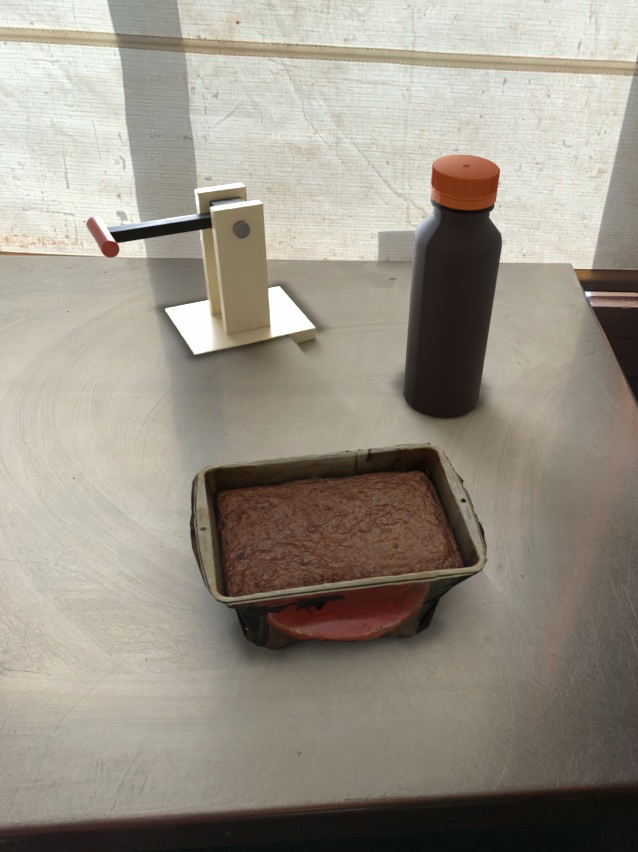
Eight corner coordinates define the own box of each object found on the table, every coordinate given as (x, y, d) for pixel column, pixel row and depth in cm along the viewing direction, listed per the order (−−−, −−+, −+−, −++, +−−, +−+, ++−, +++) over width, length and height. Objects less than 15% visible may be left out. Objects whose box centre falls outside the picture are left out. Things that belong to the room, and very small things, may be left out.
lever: (104, 265, 64) (98, 236, 62) (89, 239, 67) (82, 211, 65) (257, 239, 69) (255, 212, 67) (236, 217, 72) (234, 190, 70)
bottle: (457, 371, 74) (486, 146, 60) (491, 412, 70) (530, 179, 56) (391, 384, 72) (404, 153, 58) (421, 427, 68) (444, 189, 53)
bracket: (196, 366, 72) (176, 227, 63) (166, 319, 77) (143, 186, 68) (316, 338, 77) (313, 206, 68) (280, 296, 82) (273, 168, 73)
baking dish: (464, 680, 52) (507, 567, 46) (182, 680, 47) (187, 555, 41) (423, 538, 62) (454, 431, 56) (190, 526, 58) (195, 409, 52)
